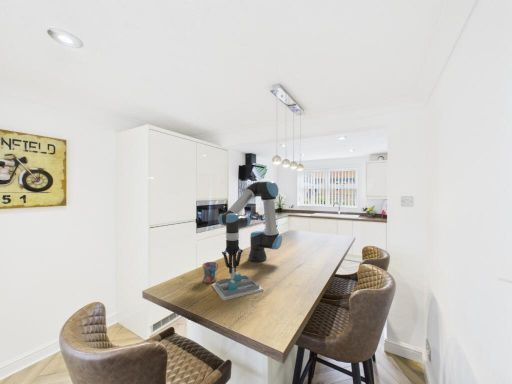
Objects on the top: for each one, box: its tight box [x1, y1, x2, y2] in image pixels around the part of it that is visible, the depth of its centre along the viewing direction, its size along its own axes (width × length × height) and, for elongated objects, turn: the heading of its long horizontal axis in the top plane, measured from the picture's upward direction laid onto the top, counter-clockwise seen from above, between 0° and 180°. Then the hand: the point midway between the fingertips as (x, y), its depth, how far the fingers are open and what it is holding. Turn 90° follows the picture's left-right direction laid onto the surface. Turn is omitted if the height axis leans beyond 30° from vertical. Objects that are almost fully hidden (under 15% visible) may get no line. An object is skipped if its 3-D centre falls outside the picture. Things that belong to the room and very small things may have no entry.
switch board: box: [211, 274, 264, 302], centre depth 125 cm, size 24×20×3 cm
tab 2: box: [233, 271, 242, 282], centre depth 130 cm, size 4×4×6 cm
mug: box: [201, 261, 219, 284], centre depth 136 cm, size 12×9×11 cm
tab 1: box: [228, 280, 237, 291], centre depth 119 cm, size 4×4×6 cm
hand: (232, 278), depth 129 cm, fingers closed
